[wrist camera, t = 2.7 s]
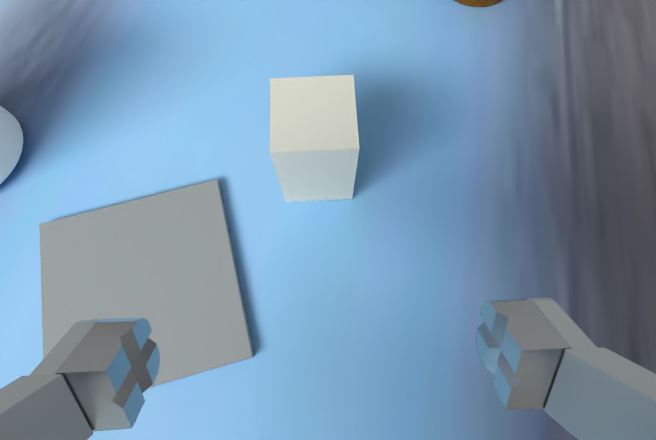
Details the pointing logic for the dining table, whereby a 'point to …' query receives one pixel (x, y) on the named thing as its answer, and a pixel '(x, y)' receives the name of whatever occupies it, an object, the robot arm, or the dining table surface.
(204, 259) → the mat
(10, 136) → the beverage can
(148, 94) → the dining table surface
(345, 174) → the cream white rectangular block
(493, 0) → the disposable coffee cup
